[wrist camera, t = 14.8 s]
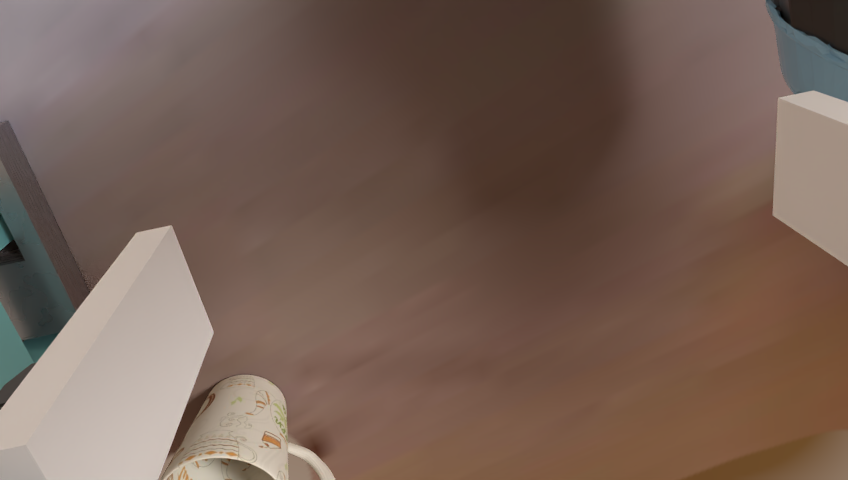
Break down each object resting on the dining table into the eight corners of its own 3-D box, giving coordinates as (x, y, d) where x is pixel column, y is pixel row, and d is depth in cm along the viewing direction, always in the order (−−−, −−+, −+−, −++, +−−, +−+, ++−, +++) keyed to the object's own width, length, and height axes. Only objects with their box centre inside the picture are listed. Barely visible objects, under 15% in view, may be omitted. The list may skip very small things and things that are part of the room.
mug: (220, 344, 48) (187, 437, 39) (367, 408, 52) (369, 508, 43) (173, 422, 51) (133, 527, 42) (317, 479, 54) (308, 586, 45)
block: (-119, 147, 40) (-148, 160, 38) (8, 121, 40) (-14, 131, 38) (38, 421, 50) (22, 444, 47) (140, 399, 50) (130, 421, 47)
